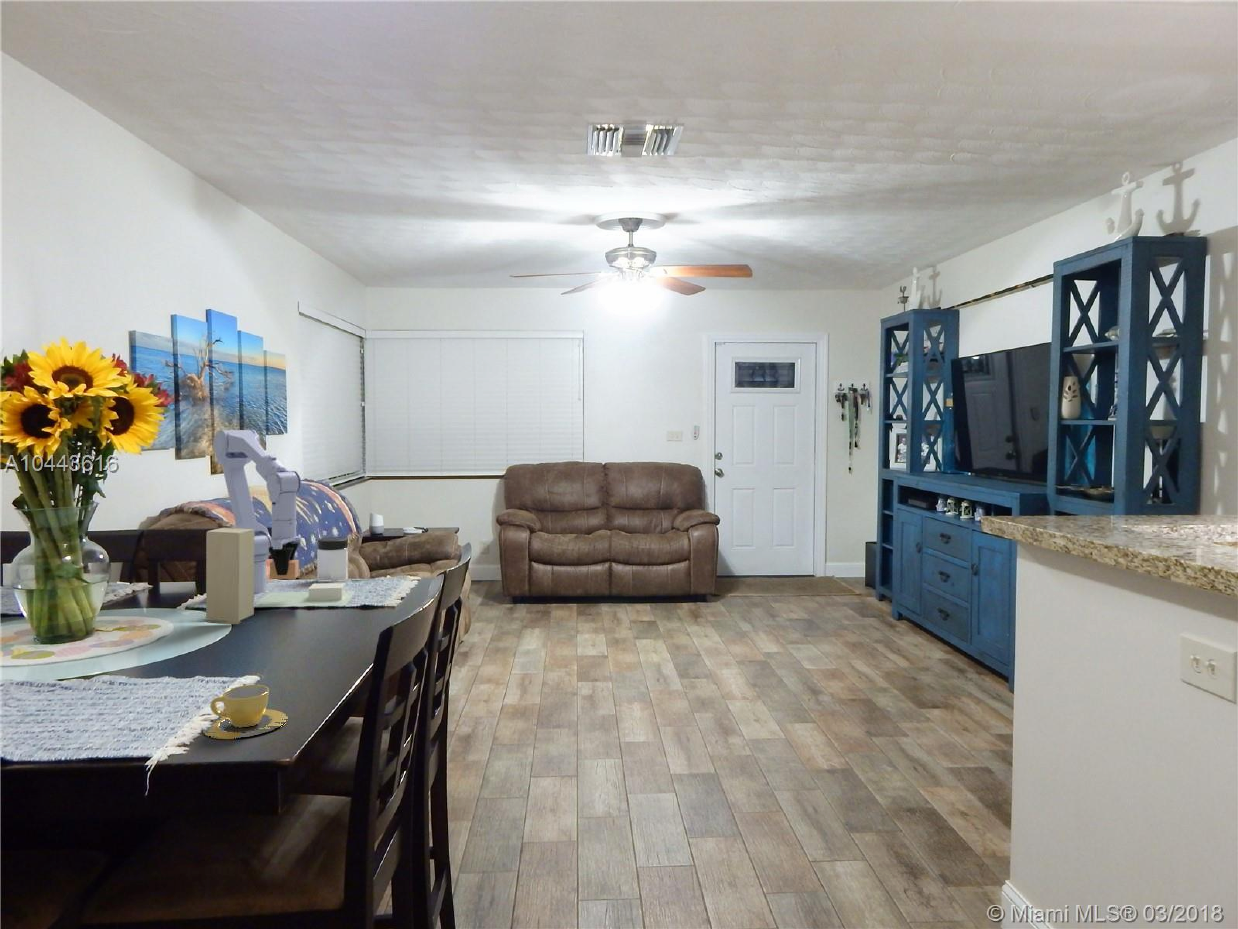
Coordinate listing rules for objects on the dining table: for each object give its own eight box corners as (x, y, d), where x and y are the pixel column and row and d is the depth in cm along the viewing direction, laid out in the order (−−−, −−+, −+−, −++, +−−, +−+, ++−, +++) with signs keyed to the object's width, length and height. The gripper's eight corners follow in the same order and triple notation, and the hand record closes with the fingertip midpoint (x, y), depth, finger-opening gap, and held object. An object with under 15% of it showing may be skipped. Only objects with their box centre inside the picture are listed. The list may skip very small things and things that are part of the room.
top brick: (269, 579, 199) (269, 563, 199) (273, 575, 203) (273, 560, 203) (295, 578, 200) (295, 562, 200) (298, 575, 204) (298, 559, 204)
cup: (295, 710, 130) (295, 677, 130) (277, 739, 119) (276, 703, 118) (216, 713, 128) (216, 680, 128) (189, 744, 116) (189, 707, 116)
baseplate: (251, 610, 194) (251, 607, 194) (268, 595, 210) (268, 592, 210) (346, 608, 198) (346, 604, 198) (355, 594, 214) (355, 591, 214)
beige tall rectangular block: (256, 616, 188) (256, 528, 187) (239, 624, 181) (238, 532, 180) (224, 615, 189) (223, 527, 188) (205, 623, 182) (204, 531, 181)
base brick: (308, 600, 202) (308, 588, 202) (313, 595, 208) (313, 583, 208) (341, 599, 204) (341, 588, 203) (345, 594, 210) (345, 583, 209)
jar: (346, 583, 227) (346, 541, 227) (315, 583, 226) (315, 541, 225) (349, 576, 236) (349, 536, 235) (320, 577, 234) (320, 536, 234)
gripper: (294, 523, 195) (294, 578, 195) (306, 515, 209) (306, 567, 210) (263, 523, 193) (263, 579, 194) (278, 515, 207) (278, 567, 208)
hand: (284, 573), depth 202 cm, fingers closed on top brick, 4 cm apart
